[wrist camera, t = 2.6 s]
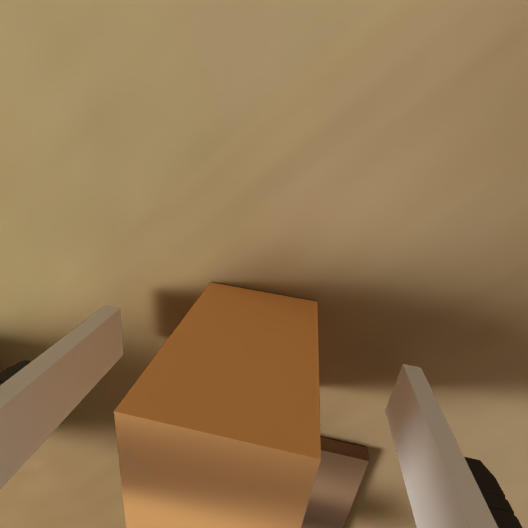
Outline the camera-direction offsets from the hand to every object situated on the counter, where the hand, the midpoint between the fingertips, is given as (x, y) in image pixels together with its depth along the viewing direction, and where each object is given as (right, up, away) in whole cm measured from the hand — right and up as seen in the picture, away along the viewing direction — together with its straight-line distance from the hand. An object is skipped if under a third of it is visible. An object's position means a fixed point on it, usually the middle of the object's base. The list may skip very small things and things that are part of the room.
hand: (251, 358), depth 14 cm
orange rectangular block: (0, +1, +1) cm, 2 cm away
